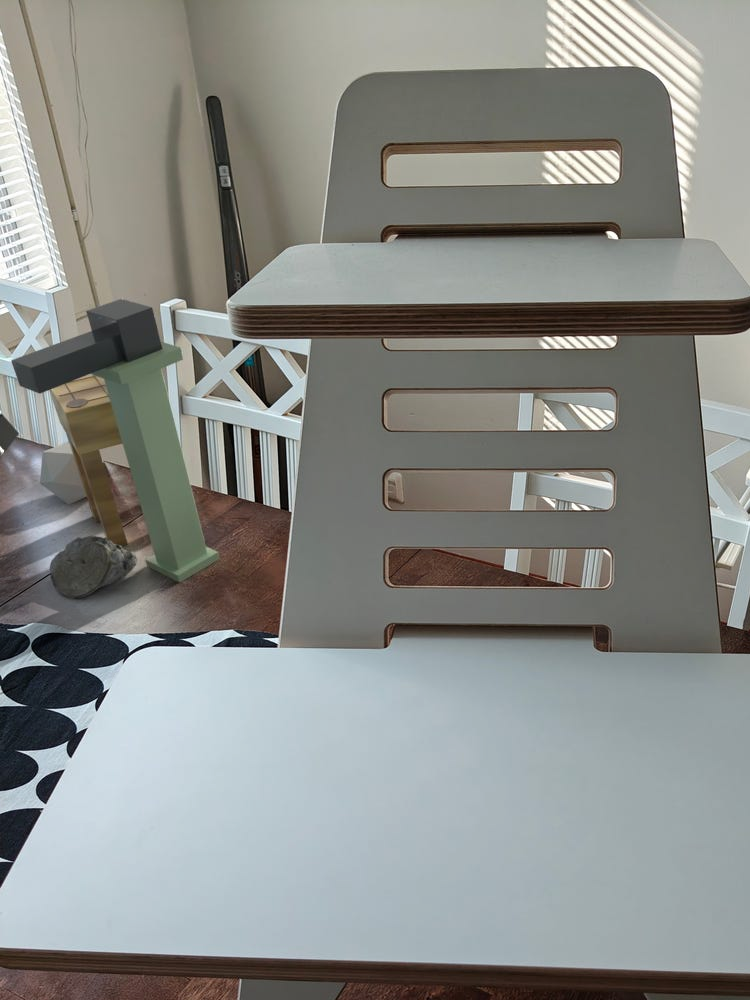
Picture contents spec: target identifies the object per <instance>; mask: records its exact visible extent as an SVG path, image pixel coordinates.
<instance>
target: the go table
mask: <svg viewBox="0 0 750 1000" xmlns="http://www.w3.org/2000/svg"><path fill="white" fill-rule="evenodd" d="M48 391H49V394H50V396H51V399H52V402H53V406H54V409H55V411H56V415H57V418H58V422H59V424H60V425H61V427H62V429H63V430H64V432H65V435H66V437H67V442H69V444H70V447H71V450H72V453H73V456H74V459H75V462H76V465H77V469H78V472H79V475H80V478H81V481H82V484H83V487H84V490H85V493H86V496H87V497H86V499H87V502H88V506H89V509H90V511H91V514H92V518H93V519H94V521H95V523H100V524H101V528H102V530H103V531H102V532H103V533H104V536H105V537H104V538H105V539H108V540H110V541H112V543H113V544H117V545H121V547H124V546H128V545H129V543H128V540H127V537H126V533H125V530H124V527H123V524H122V523H123V522H122V520H121V517H120V513H119V510H118V507H117V504H116V501H115V497H114V493H113V491H112V487H111V484H110V480H109V478H108V475H107V471H106V469H105V465H104V460H103V458H102V454H101V452H100V450H103V449H107V448H111V447H115V446H118V445H123V443H122V440H121V436H120V433H119V429H118V426H117V422H116V419H115V415H114V412H113V409H112V405H111V402H110V398H109V395H108V391H107V388H106V384H105V381H104V379H103V378H101V377H98V376H95V375H92V374H88V375H86V376H83V377H81V378H78V379H76V380H73V381H71V382H68V383H66V384H63V385H61V386H58V387H56V388H53V389H51V390H48ZM102 460H103V461H102Z"/></svg>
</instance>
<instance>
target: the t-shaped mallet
mask: <svg viewBox="0 0 750 1000" xmlns="http://www.w3.org/2000/svg"><path fill="white" fill-rule="evenodd" d="M85 313H86V316H87V319H88V323H89V327H90V331H88V332H85V333H82V334H80V335H76V336H73V337H70V338H67V339H66V340H63V341H60V342H57V343H55V344H52V345H49V346H46V347H44V348H42V349H38V350H35V351H32V352H30V353H28V354H25V355H22V356H19V357H16V358H13V359H11V360H10V362H11V364H12V367H13V371H14V373H15V377H16V379H17V381H18V384H19V387H21V388H24V389H27V390H29V391H32V392H34V393H37V394H43V393H45V392H48V391H49V390H51V389H53V388H56V387H58V386H61V385H63V384H66V383H68V382H71V381H73V380H76V379H78V378H81V377H83V376H86V375H88V374H91V373H94V372H96V371H99V370H101V369H104V368H106V367H109V366H111V365H114V364H116V363H119V362H121V361H125V362H131V361H133V360H136V359H138V358H141V357H143V356H146V355H148V354H151V353H153V352H156V351H158V350H161V349H162V344H161V342H162V340H161V337H160V332H159V328H158V324H157V320H156V316H155V313H154V307H152V306H149V305H145V304H141V303H139V302H135V301H131V300H128V299H124V298H119V299H117V300H113V301H110V302H108V303H104V304H102V305H99V306H97V307H94V308H91V309H88V310H86V311H85Z"/></svg>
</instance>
